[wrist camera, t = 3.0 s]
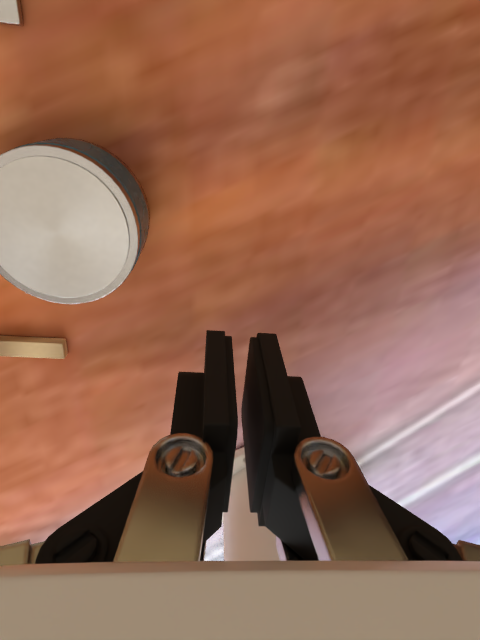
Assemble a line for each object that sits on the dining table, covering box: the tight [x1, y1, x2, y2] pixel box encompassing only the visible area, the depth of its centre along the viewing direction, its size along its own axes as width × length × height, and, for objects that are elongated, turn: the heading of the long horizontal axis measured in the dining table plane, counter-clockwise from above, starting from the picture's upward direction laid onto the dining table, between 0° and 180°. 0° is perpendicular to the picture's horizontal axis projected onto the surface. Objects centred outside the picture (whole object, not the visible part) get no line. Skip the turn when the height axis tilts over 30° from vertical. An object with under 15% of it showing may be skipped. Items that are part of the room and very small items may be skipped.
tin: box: [0, 138, 149, 304], centre depth 24 cm, size 9×9×5 cm
